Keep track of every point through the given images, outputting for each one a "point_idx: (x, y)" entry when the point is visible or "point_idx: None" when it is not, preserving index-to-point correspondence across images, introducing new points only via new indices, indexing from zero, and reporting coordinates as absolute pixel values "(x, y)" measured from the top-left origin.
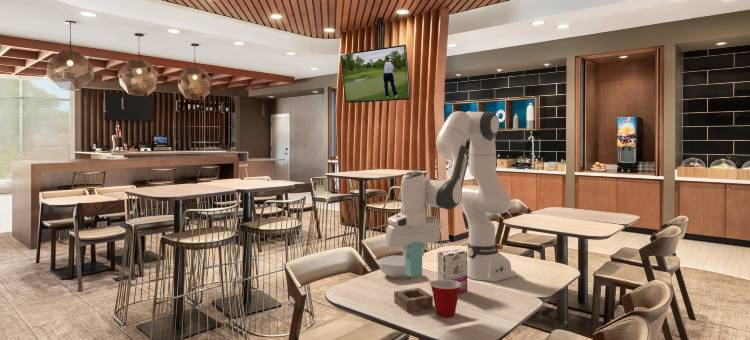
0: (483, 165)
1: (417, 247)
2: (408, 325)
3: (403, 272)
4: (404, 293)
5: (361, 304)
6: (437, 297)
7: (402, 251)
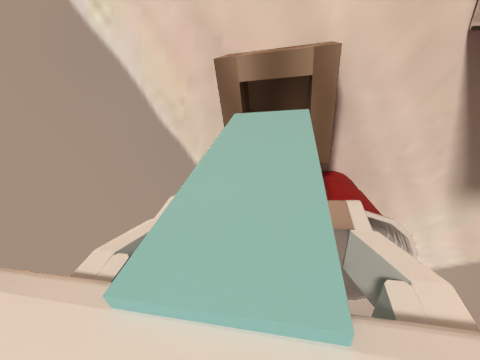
0: None
1: None
2: None
3: None
4: (253, 79)
5: (119, 7)
6: None
7: (143, 227)
